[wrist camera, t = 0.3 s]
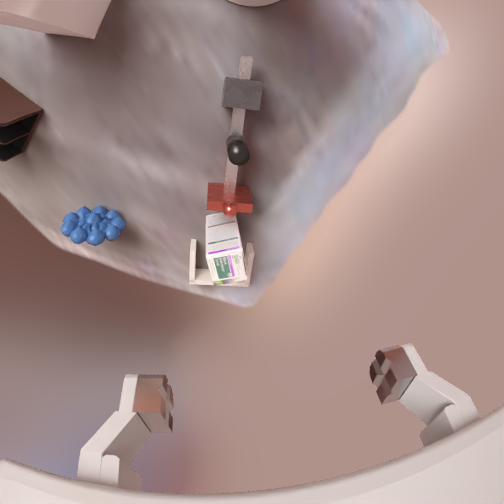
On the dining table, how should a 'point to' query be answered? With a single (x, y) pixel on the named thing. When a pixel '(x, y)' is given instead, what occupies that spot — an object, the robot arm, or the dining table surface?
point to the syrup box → (224, 249)
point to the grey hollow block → (242, 93)
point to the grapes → (93, 225)
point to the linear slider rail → (233, 162)
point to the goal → (204, 274)
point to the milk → (55, 16)
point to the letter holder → (15, 120)
